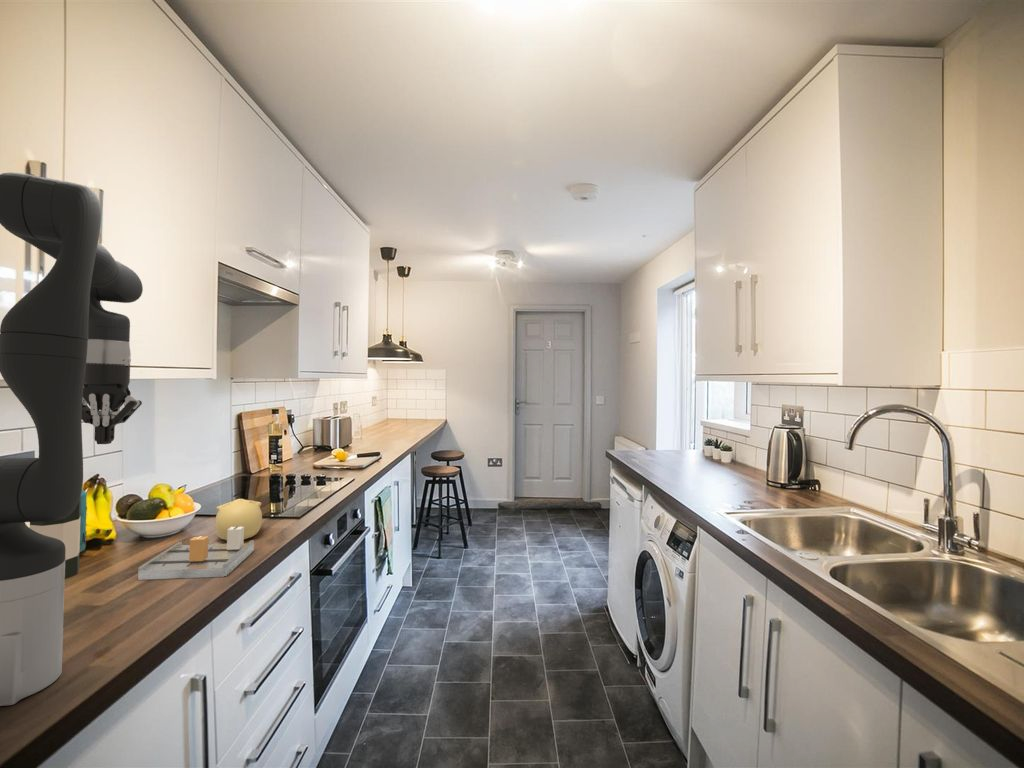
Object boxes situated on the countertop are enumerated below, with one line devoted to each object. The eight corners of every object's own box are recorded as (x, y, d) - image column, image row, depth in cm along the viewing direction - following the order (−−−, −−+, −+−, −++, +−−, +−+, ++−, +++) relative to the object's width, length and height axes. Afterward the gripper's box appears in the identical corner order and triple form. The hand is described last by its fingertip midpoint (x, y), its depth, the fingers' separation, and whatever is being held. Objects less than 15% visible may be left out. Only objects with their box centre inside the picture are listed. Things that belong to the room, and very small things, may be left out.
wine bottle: (16, 585, 96) (20, 445, 96) (44, 569, 104) (48, 439, 104) (64, 582, 98) (69, 444, 98) (88, 566, 106) (92, 439, 106)
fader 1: (203, 560, 106) (203, 538, 106) (189, 561, 105) (189, 539, 105) (207, 557, 108) (208, 535, 108) (194, 557, 108) (194, 535, 107)
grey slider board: (226, 576, 104) (226, 564, 104) (138, 579, 101) (138, 567, 101) (253, 550, 119) (254, 540, 119) (178, 552, 116) (178, 542, 116)
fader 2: (239, 549, 114) (240, 528, 114) (226, 549, 113) (227, 528, 113) (243, 546, 116) (244, 525, 116) (230, 546, 115) (231, 526, 115)
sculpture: (260, 528, 137) (261, 493, 137) (263, 540, 127) (264, 502, 127) (215, 534, 131) (216, 497, 131) (214, 547, 121) (215, 507, 121)
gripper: (56, 360, 91) (53, 446, 91) (130, 362, 93) (127, 446, 93) (84, 361, 98) (82, 441, 98) (152, 364, 101) (150, 441, 101)
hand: (104, 443), depth 96 cm, fingers closed
